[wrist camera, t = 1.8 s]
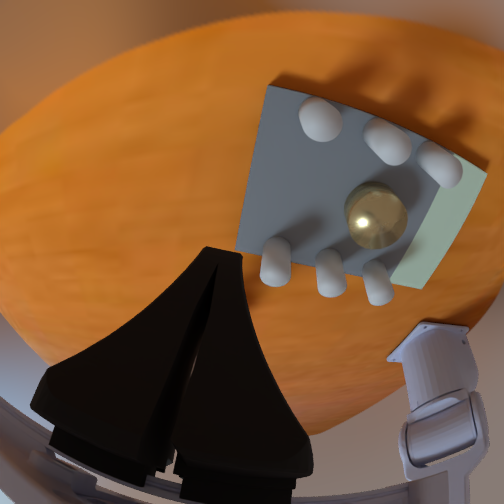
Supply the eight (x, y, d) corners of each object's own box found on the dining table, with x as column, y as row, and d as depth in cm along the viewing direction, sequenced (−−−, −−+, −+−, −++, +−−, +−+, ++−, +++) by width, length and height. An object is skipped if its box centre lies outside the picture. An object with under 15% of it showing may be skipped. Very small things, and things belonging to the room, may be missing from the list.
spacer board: (480, 168, 14) (509, 192, 11) (418, 281, 22) (431, 314, 19) (268, 84, 14) (264, 88, 11) (236, 242, 21) (228, 277, 18)
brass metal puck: (406, 191, 16) (417, 205, 14) (384, 237, 18) (392, 254, 17) (354, 174, 16) (362, 187, 14) (335, 225, 18) (340, 242, 17)
